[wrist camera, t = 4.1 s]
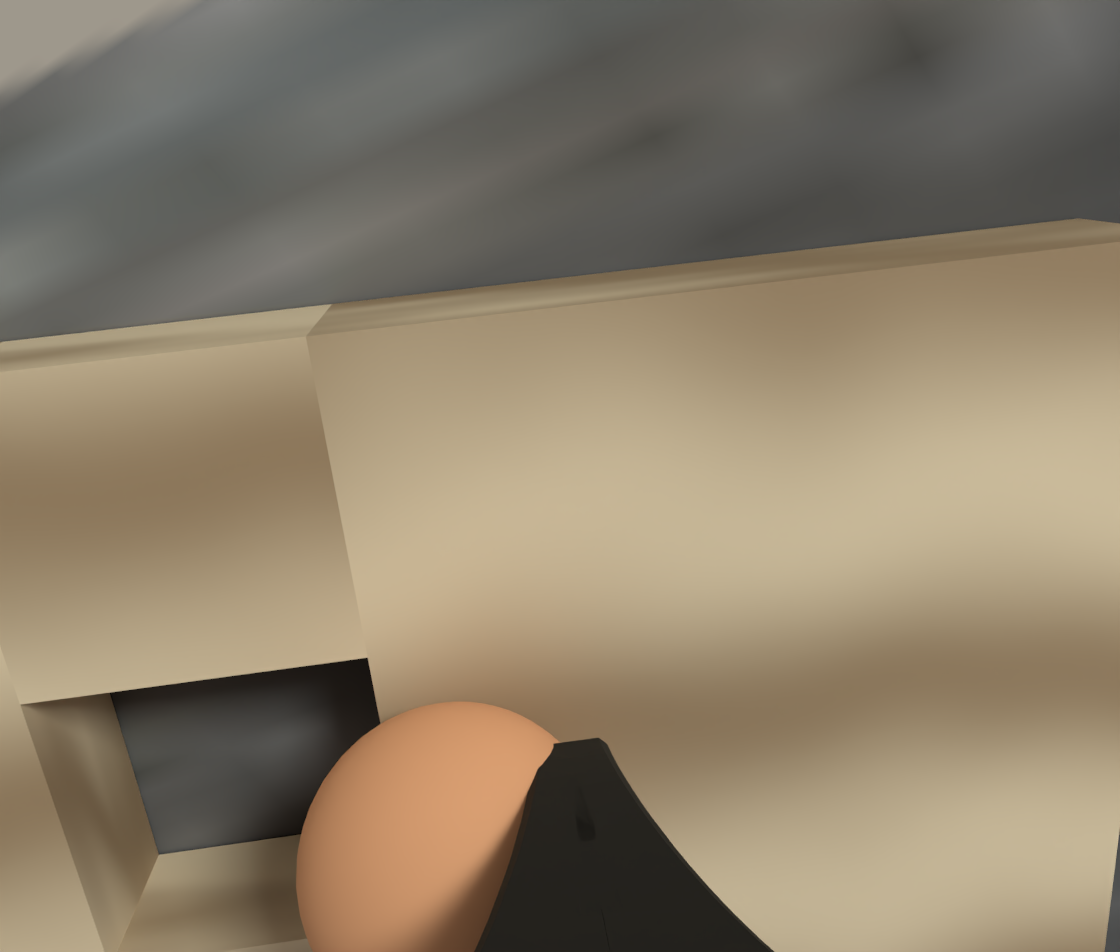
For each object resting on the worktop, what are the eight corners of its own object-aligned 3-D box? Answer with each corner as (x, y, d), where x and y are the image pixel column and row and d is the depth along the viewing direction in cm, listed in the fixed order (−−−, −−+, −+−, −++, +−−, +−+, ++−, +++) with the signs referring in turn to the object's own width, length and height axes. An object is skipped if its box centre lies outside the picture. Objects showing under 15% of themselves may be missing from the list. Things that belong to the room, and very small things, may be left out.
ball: (278, 1085, 12) (371, 823, 15) (596, 1125, 11) (619, 844, 15) (209, 882, 10) (334, 630, 13) (593, 918, 9) (620, 648, 13)
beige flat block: (1020, 916, 20) (1095, 1021, 17) (28, 1071, 18) (-35, 1206, 16) (1078, 219, 15) (1193, 233, 12) (-252, 371, 14) (-400, 418, 11)
